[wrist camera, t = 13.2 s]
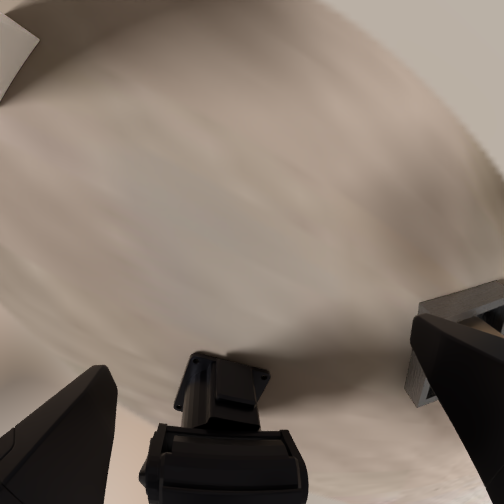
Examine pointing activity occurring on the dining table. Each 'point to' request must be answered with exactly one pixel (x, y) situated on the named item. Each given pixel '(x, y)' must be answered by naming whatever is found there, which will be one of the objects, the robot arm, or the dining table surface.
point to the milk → (13, 50)
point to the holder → (456, 309)
